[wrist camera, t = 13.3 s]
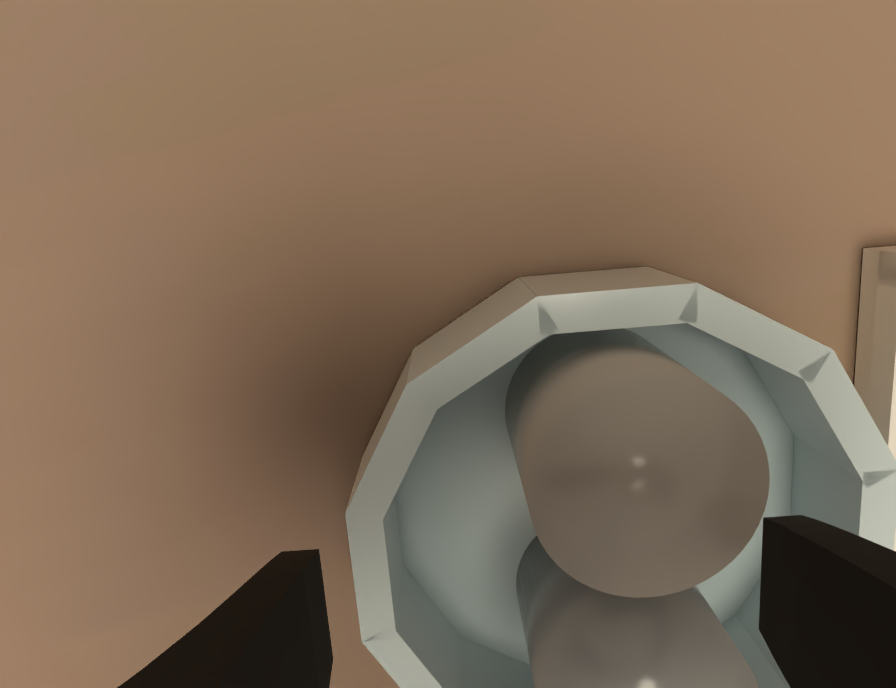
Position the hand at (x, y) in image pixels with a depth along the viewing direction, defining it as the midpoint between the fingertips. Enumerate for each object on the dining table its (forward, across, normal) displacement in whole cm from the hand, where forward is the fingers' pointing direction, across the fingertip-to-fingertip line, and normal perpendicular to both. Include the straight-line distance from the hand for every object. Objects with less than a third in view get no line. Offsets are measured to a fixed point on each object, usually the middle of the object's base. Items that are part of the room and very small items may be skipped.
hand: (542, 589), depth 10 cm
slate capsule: (+6, -2, +4) cm, 8 cm away
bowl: (+7, -2, +2) cm, 7 cm away
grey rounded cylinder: (+6, -2, -1) cm, 7 cm away
